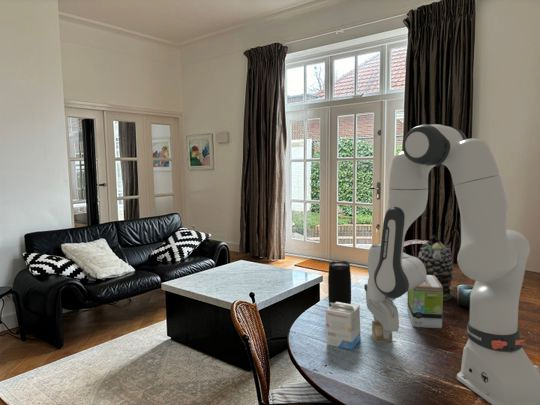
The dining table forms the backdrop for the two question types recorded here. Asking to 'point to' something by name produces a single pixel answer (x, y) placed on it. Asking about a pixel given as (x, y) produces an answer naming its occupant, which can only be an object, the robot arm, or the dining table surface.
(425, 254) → the pine cone
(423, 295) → the tea box
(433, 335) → the dining table surface
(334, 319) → the ink box
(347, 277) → the portable speaker
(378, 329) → the oak cube
